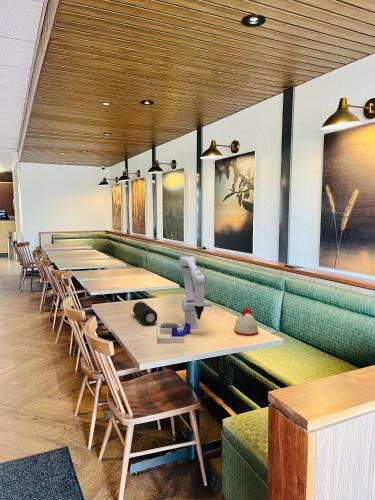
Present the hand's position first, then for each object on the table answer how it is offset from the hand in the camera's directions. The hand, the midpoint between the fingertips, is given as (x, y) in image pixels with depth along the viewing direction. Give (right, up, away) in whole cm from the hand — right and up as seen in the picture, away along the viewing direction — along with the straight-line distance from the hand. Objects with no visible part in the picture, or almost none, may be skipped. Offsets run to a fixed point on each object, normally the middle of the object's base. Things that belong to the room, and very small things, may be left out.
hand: (198, 318), depth 208 cm
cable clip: (-10, -10, -1) cm, 14 cm away
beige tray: (-16, -9, -3) cm, 19 cm away
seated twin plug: (-17, -9, +5) cm, 20 cm away
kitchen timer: (+28, -10, +7) cm, 31 cm away
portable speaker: (-34, -6, +27) cm, 44 cm away
